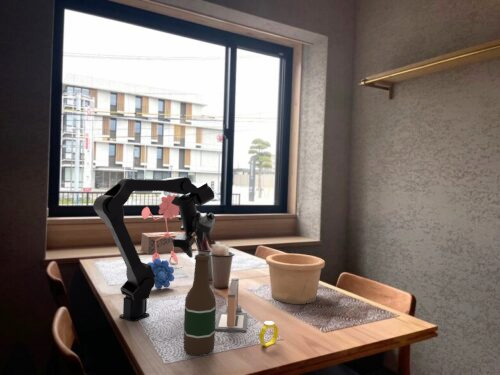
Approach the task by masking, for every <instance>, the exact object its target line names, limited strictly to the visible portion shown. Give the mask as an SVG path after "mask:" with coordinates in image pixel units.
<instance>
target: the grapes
mask: <svg viewBox="0 0 500 375" xmlns="http://www.w3.org/2000/svg"><path fill="white" fill-rule="evenodd" d="M146 264H148V265H151V267H152V271H153V273H154V275H155V276H156V277H154V278H155V284H154V288H156V289H157V290H161V289H163V287H164V288H166V289H167V288H169V287H170V286H171V283H172V282H173V281H175V275H174V274H173V273H174V272H175V268H174V266H172V265H170V262H169V261H168V260H167V259H163V260H161V258H160V259H158V258H156V259H154V261H149V262H148V263H146ZM170 282H171V283H170Z"/></svg>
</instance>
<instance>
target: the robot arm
mask: <svg viewBox="0 0 500 375" xmlns="http://www.w3.org/2000/svg"><path fill="white" fill-rule="evenodd" d="M133 192H166V193H169V194H173V195H174V194H175V195H176V194H177V195H180V196H177V195H176V196H175V198H174V199H173V200H172V202H171V203H172V204H174V205H176V206H178V207H179V215H178V216H177V218H178V220H179V221H181V224H182V225H181V227H180V230H181V231H184V232H186V233H185V234H178V235H177V236H176V237H175V238H174V239H173V241H172V243H173V246H174V247H179V248H181V249H182V250H183V251H184V252H183V253H185V255H187V257H188V258H193V257H194V256H193V245H194V244H195V241H194V234H195V235H196V238H197V240H198V242H199V243H202V244H203V243H204V238H205V235H210V234H211V233H212V231H213V230H214V228H215V224H216V222H217V220H216V217H215V214H214V213H212V212H209V213H207V212H204V213H203V212H200V210H197V206H198V207H202V206H204V205H205V204H208V203H209V202H211V201H213V200H214V199H215V192H214V190H213V188H212V187H211V186H209V184H208V183H207V182H202V183H200V184H199V185H195V184H194V183H192V180H191V179H190V178H189V177H187V176H173V177H167V178H164V179H163V178H162V179H142V178H141V179H140V178H139V179H138V178H132V177H131V178H129V177H124V178H121V179H120V180H119V181H118V182H117V183H116V184H115V185H113V186H112V187H110V188H108V190H107V191H105V192H104V194H101V195H99V196H98V197H96V198H95V200H94V201H93V205H92V207H93V210H94V211H95V213H96V214H97V216H98V217H99V218H100V220H101V221H102V222H103V223H104V224H105V225H106V226H107V227H108V229H109V231H110V233H111V235H112V238H113V240H114V243H115V244H116V246H117V249H118V251H119V254H120V255H121V258H122V259H123V262H124V264H125V266H126V274H125V275H126V279H127V280H126V281H125V282H124V283H123V285H121V287H120V292H121V295H124V297H123V305H122V306H123V308H122V309H123V310H122V313H121V314H119V316H118V317H119V318H122V319H125V320H128V321H132V322H135V321H139V320H141V319H143V318H146V317H148V316H150V313H149V312H147V309H148V308H147V306H148V305H147V304H148V299H150V295H151V292H152V289H154V287H155V278H154V277H156V276H155V275H154V273H153V271H152V267H151V265H148V264H147V263H146V262H142V259H141V257H140V256H139V253H138V251H137V249H136V246H135V244H134V242H133V240H132V238H131V234H130V233H129V230H128V228H127V226H126V224H125V211H124V208H123V206H124V205H125V204H126V203H127V202H128V200H129V199H130V196H131V195H132V194H133Z"/></svg>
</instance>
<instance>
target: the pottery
mask: <svg viewBox="0 0 500 375" xmlns="http://www.w3.org/2000/svg"><path fill="white" fill-rule="evenodd" d="M265 263H266V265H268V270H269V272H268V273H269V281H270V282H269V283H270V291H271V292H270V293H271V297H272V298H273V299H274V300H275V301H278V302H280V303H285V304H289V303H290V304H291V305H293V304H294V305H307V304H311V303H313V302H315V301H316V299H317V293H318V290H319V283H320V279H321V278H320V277H321V272H322V269H324V267H325V266H326V261H325V260H324V259H322V258H321V257H318V256H315V255H311V254H310V255H308V254H304V253H303V254H302V253H274V254H270V255H267V256H266V258H265ZM306 303H307V304H306Z"/></svg>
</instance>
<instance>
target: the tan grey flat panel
mask: <svg viewBox="0 0 500 375" xmlns="http://www.w3.org/2000/svg"><path fill="white" fill-rule="evenodd" d="M229 284H230V285H229V288H228V292H227V305H226V307H227V311H226V312H227V326H234V322H235V316H236V310H237V307H238V305H239V278H237V277H233V278H231V280H230V283H229Z"/></svg>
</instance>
